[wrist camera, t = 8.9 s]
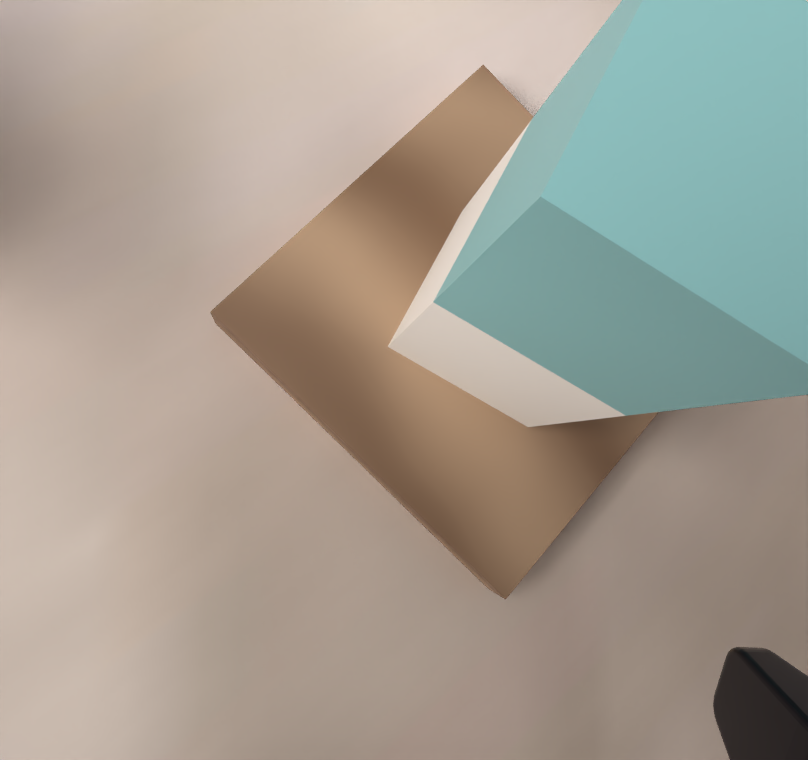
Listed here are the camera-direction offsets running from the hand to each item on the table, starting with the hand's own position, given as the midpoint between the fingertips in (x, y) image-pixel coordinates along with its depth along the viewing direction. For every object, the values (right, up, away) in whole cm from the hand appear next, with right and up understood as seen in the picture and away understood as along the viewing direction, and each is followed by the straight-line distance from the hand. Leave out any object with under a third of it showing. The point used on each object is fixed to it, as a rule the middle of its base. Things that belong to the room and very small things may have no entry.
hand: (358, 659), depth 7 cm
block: (+3, +5, +12) cm, 13 cm away
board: (+3, +5, +13) cm, 15 cm away
